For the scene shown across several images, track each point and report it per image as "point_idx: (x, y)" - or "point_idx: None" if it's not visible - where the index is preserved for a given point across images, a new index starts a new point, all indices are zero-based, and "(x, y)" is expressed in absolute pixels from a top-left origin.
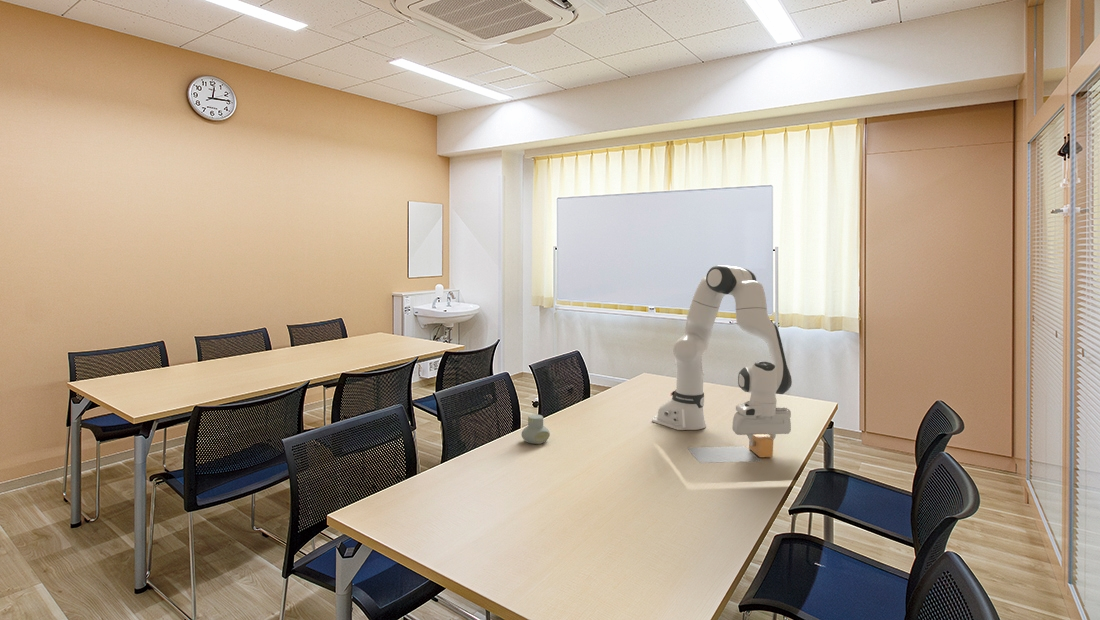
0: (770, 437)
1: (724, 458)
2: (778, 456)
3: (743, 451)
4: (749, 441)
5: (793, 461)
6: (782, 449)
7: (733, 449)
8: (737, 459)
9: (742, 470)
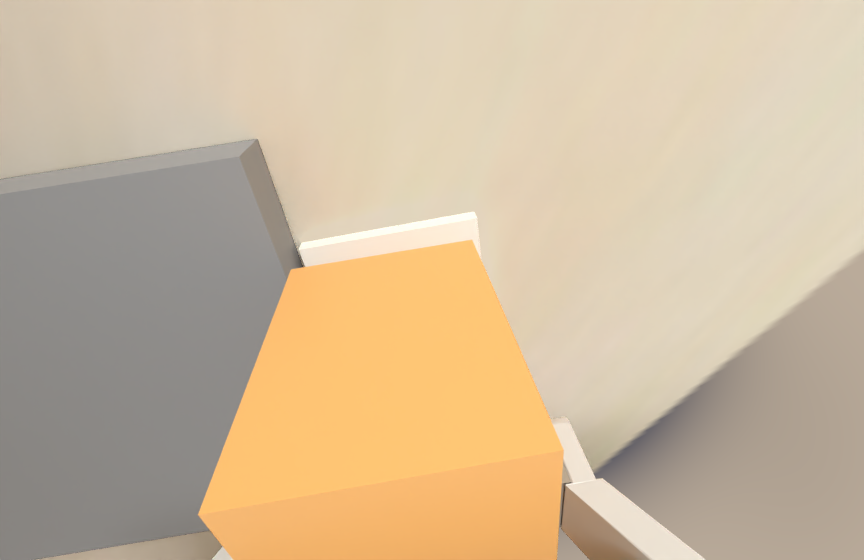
0: (611, 545)
1: (19, 513)
2: (614, 290)
3: (211, 345)
4: (267, 342)
5: (676, 375)
6: (833, 46)
7: (62, 300)
8: (152, 509)
9: (215, 541)
